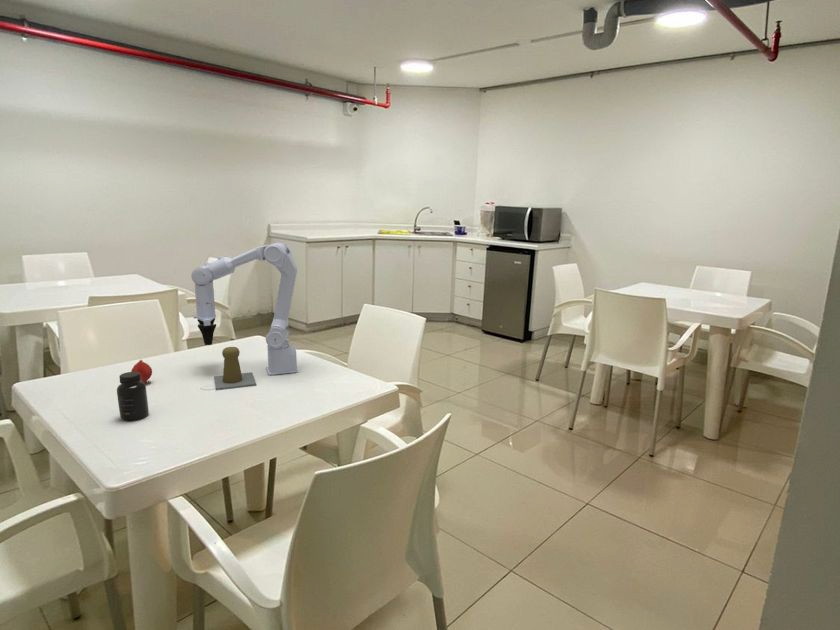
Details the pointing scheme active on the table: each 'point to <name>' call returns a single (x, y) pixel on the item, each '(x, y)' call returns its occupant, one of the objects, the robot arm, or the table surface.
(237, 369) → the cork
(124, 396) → the supplement bottle
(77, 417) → the table surface
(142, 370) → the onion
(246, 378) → the placemat
